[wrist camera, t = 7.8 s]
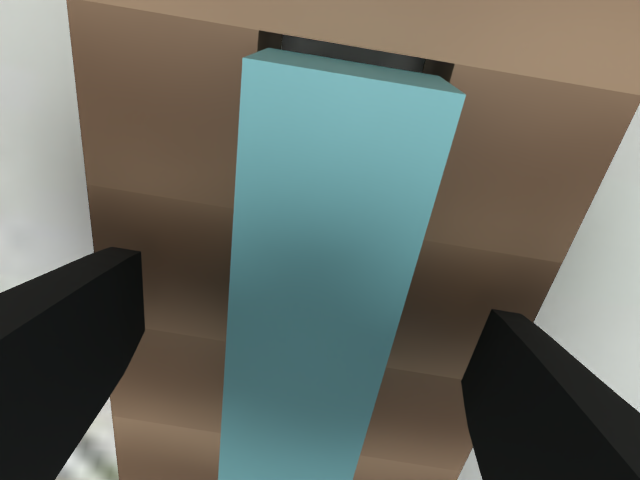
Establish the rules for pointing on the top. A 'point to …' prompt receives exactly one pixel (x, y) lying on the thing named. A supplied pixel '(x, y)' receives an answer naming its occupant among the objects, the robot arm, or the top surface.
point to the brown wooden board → (444, 224)
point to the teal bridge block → (323, 253)
